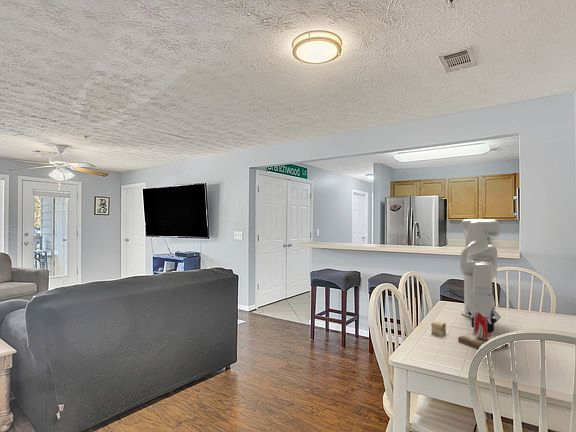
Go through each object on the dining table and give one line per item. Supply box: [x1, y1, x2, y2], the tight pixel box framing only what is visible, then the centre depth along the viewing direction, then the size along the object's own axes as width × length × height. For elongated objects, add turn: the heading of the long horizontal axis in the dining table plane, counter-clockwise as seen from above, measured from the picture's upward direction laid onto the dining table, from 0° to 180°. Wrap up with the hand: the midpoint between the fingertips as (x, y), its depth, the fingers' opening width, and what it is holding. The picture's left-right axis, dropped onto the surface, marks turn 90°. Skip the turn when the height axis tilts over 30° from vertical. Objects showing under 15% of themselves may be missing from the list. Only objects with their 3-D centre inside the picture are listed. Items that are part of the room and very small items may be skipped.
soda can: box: [473, 311, 493, 339], centre depth 153 cm, size 7×7×12 cm
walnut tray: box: [457, 333, 509, 351], centre depth 153 cm, size 14×14×2 cm
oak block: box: [431, 320, 447, 336], centre depth 168 cm, size 5×5×5 cm
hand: (482, 329), depth 153 cm, fingers open, 7 cm apart
